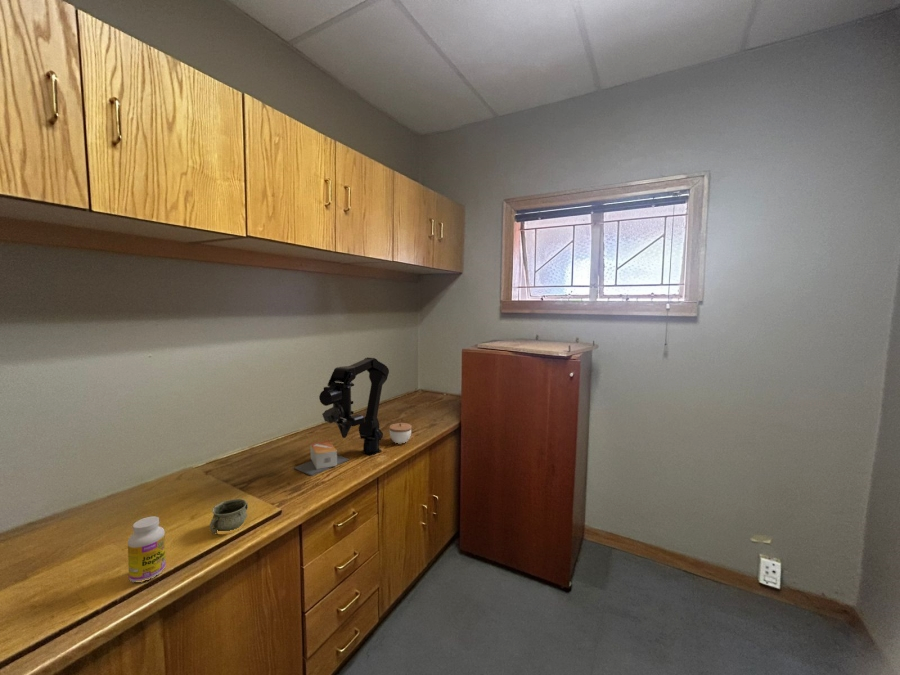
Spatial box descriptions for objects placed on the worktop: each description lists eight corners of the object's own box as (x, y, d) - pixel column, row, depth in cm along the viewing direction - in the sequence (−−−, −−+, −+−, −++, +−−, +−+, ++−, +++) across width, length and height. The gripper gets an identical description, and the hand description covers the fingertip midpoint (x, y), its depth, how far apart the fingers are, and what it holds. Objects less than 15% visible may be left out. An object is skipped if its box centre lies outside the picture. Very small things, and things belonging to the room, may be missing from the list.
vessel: (222, 542, 96) (221, 520, 96) (198, 535, 99) (198, 514, 99) (259, 518, 108) (258, 498, 107) (236, 513, 110) (236, 493, 110)
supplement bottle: (140, 588, 80) (137, 533, 79) (122, 579, 83) (119, 526, 82) (172, 568, 86) (170, 517, 85) (155, 561, 89) (153, 511, 88)
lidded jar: (402, 447, 165) (402, 428, 165) (384, 443, 171) (384, 423, 170) (415, 440, 175) (416, 422, 174) (399, 436, 180) (399, 418, 179)
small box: (316, 454, 139) (309, 443, 150) (316, 470, 140) (310, 458, 151) (337, 450, 143) (329, 440, 154) (337, 465, 144) (329, 454, 155)
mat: (332, 454, 157) (332, 452, 157) (348, 460, 150) (348, 458, 150) (294, 468, 142) (294, 467, 142) (311, 476, 136) (311, 474, 136)
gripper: (311, 399, 139) (312, 438, 141) (341, 408, 128) (342, 449, 130) (335, 394, 148) (336, 430, 150) (365, 401, 137) (365, 440, 139)
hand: (344, 437), depth 142 cm, fingers closed
